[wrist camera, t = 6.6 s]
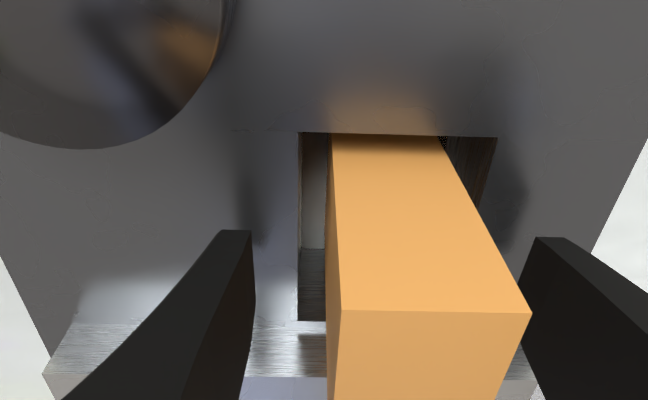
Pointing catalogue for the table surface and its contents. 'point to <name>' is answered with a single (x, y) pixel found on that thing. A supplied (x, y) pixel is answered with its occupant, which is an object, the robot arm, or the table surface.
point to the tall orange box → (412, 277)
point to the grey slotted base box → (288, 147)
